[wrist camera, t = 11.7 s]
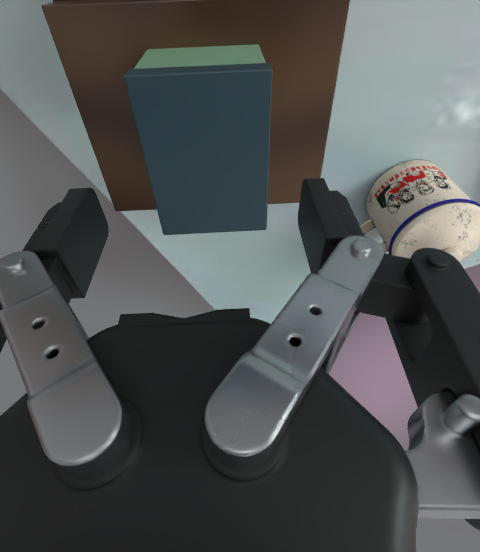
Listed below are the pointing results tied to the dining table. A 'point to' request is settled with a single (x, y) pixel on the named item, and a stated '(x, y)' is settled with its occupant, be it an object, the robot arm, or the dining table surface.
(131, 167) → the shelf riser
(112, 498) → the robot arm
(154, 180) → the box
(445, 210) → the teacup with lid
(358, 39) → the dining table surface
